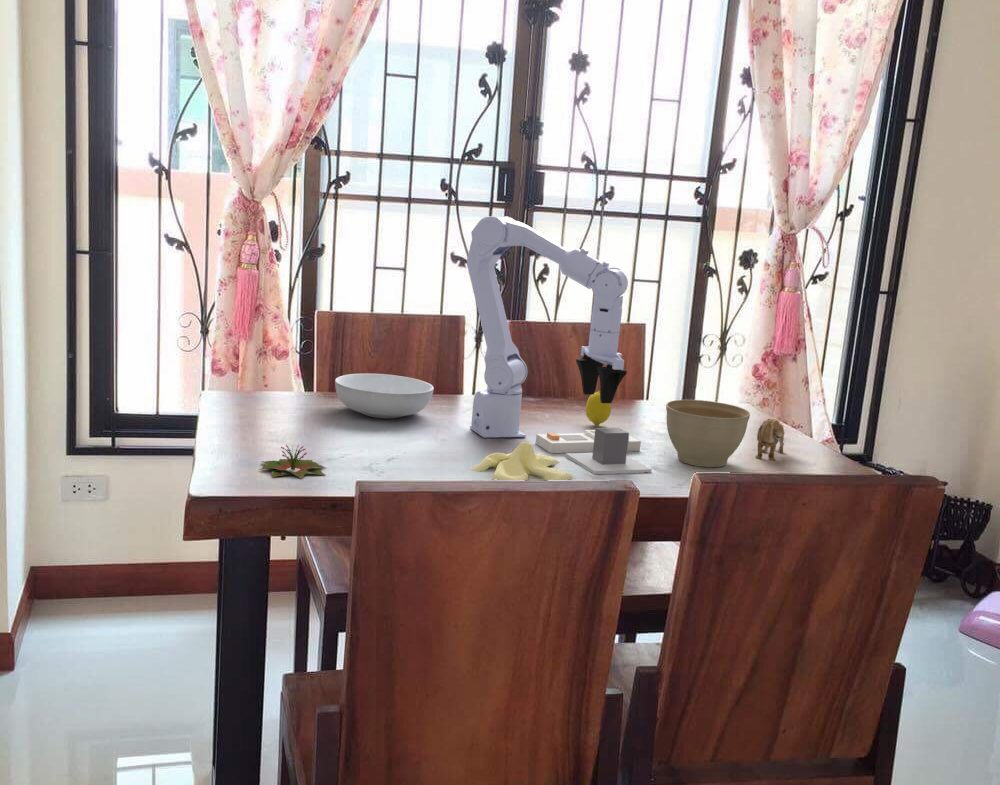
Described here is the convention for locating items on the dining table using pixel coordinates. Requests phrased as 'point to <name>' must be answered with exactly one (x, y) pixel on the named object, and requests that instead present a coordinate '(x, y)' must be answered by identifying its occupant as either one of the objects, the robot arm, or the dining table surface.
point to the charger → (610, 446)
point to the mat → (607, 465)
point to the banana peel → (522, 465)
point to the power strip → (575, 442)
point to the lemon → (597, 409)
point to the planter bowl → (705, 430)
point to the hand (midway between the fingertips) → (597, 398)
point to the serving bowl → (383, 394)
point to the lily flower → (293, 465)
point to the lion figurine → (770, 438)
